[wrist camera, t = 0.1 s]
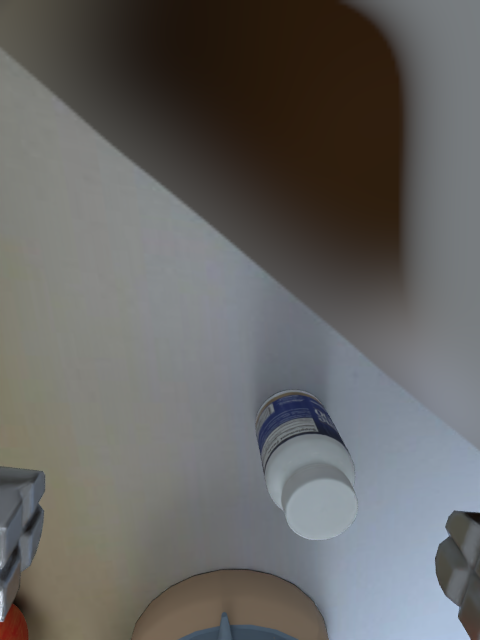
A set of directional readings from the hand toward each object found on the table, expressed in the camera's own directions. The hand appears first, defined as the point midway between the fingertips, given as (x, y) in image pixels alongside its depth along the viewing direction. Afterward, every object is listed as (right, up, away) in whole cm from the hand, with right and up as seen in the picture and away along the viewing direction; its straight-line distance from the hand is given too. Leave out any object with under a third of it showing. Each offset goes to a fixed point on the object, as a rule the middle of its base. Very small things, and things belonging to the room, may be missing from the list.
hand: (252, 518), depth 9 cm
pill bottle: (+3, -3, +25) cm, 25 cm away
